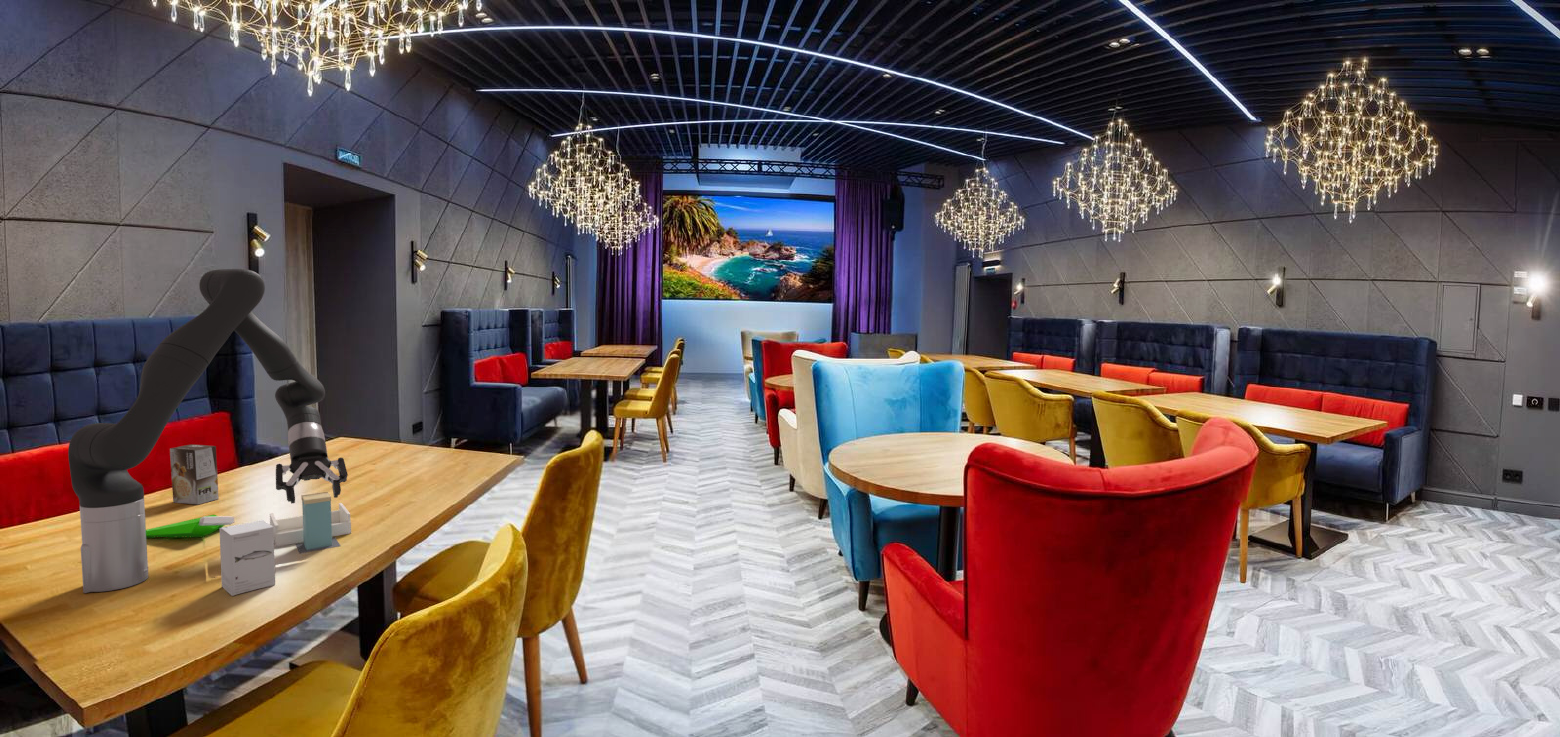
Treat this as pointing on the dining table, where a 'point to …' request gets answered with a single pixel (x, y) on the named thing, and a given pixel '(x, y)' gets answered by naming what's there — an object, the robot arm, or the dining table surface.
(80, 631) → the dining table surface
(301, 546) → the coaster
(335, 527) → the tote
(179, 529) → the green and white wedge
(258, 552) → the supplement box
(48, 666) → the dining table surface
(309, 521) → the tea tin
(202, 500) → the coffee box
